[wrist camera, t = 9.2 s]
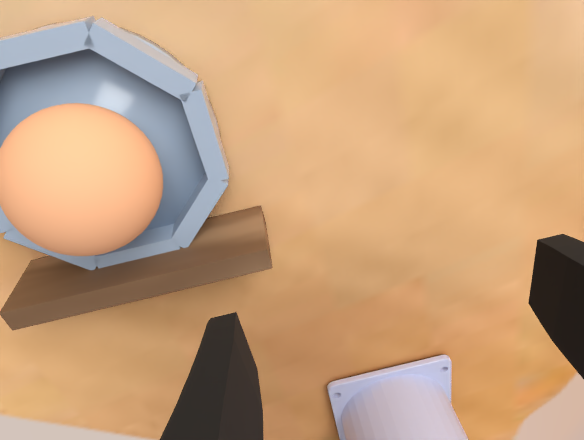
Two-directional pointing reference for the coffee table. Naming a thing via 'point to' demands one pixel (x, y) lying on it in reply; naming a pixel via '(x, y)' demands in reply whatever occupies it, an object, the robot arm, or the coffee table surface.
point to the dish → (130, 104)
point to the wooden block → (141, 272)
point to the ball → (79, 179)
